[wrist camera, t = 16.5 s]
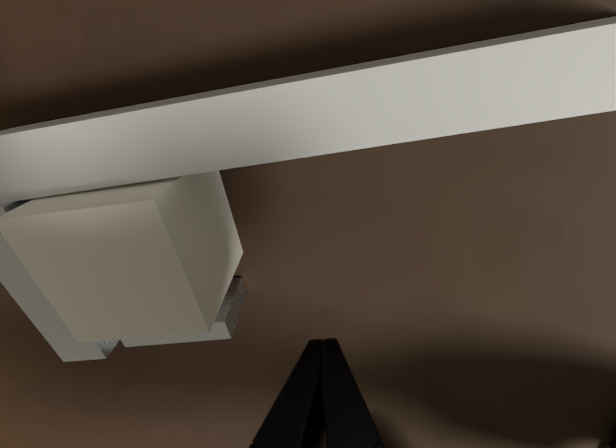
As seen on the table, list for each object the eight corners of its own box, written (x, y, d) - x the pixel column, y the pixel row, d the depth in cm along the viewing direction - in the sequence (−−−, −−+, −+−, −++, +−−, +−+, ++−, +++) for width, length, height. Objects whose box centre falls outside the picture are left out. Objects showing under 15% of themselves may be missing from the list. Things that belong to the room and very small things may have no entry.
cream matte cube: (213, 149, 13) (153, 200, 8) (243, 251, 15) (209, 332, 11) (92, 166, 13) (-21, 221, 9) (139, 262, 16) (67, 342, 11)
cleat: (198, 148, 13) (150, 185, 9) (246, 292, 16) (224, 358, 13) (46, 173, 14) (-52, 215, 10) (122, 304, 17) (69, 369, 14)
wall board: (627, 14, 10) (761, -4, 7) (609, 82, 11) (720, 94, 8) (18, 126, 13) (-81, 149, 10) (46, 173, 14) (-36, 208, 10)
